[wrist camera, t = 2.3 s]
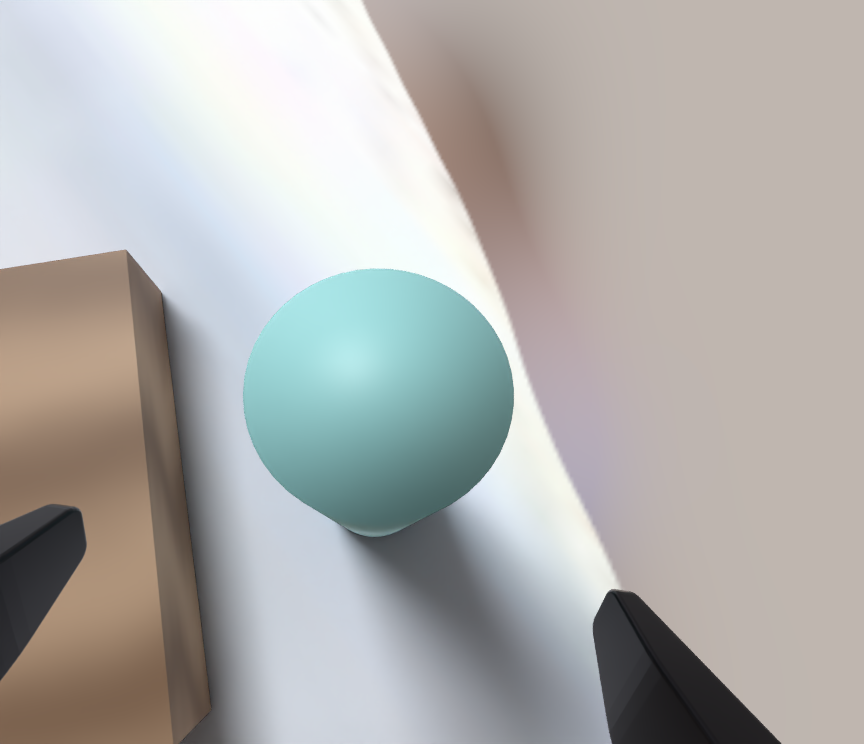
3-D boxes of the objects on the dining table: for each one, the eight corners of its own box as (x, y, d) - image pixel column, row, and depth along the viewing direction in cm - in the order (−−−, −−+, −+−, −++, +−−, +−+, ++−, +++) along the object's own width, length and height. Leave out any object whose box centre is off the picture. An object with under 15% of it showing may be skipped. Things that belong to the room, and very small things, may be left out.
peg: (426, 537, 17) (522, 524, 6) (320, 536, 17) (221, 522, 6) (427, 435, 19) (506, 276, 8) (329, 431, 18) (263, 259, 7)
